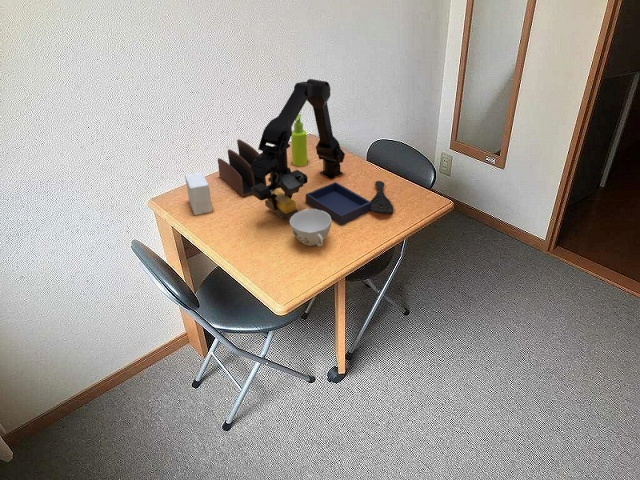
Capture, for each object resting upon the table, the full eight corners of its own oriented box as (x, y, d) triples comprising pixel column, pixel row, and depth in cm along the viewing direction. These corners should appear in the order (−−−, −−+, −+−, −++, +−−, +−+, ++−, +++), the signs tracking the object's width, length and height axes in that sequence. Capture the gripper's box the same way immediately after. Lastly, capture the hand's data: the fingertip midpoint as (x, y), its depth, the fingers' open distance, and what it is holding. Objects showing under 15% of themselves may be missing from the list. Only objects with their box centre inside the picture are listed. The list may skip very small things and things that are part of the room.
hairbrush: (391, 177, 179) (395, 210, 158) (389, 186, 181) (394, 220, 160) (368, 175, 179) (370, 208, 158) (367, 184, 181) (368, 217, 160)
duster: (265, 205, 164) (264, 192, 161) (277, 200, 167) (276, 188, 164) (286, 220, 157) (285, 207, 154) (298, 215, 159) (297, 201, 156)
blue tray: (305, 202, 169) (305, 194, 167) (335, 190, 176) (335, 181, 174) (341, 225, 158) (341, 216, 156) (371, 211, 165) (371, 202, 163)
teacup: (285, 234, 154) (284, 213, 149) (321, 226, 157) (321, 204, 153) (302, 261, 142) (301, 239, 138) (341, 251, 146) (341, 229, 141)
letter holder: (242, 169, 191) (238, 135, 183) (267, 189, 177) (264, 154, 169) (219, 176, 186) (214, 142, 178) (242, 197, 173) (238, 161, 165)
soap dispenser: (290, 167, 192) (288, 118, 180) (294, 159, 198) (292, 111, 186) (305, 167, 191) (303, 119, 180) (308, 160, 197) (307, 112, 185)
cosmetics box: (213, 211, 165) (209, 184, 159) (194, 215, 163) (189, 188, 157) (207, 197, 173) (202, 171, 167) (188, 201, 171) (183, 174, 165)
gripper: (268, 183, 142) (271, 227, 151) (317, 164, 152) (318, 207, 161) (247, 170, 149) (252, 213, 158) (296, 152, 159) (298, 194, 168)
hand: (281, 207), depth 161 cm, fingers closed on duster, 5 cm apart
